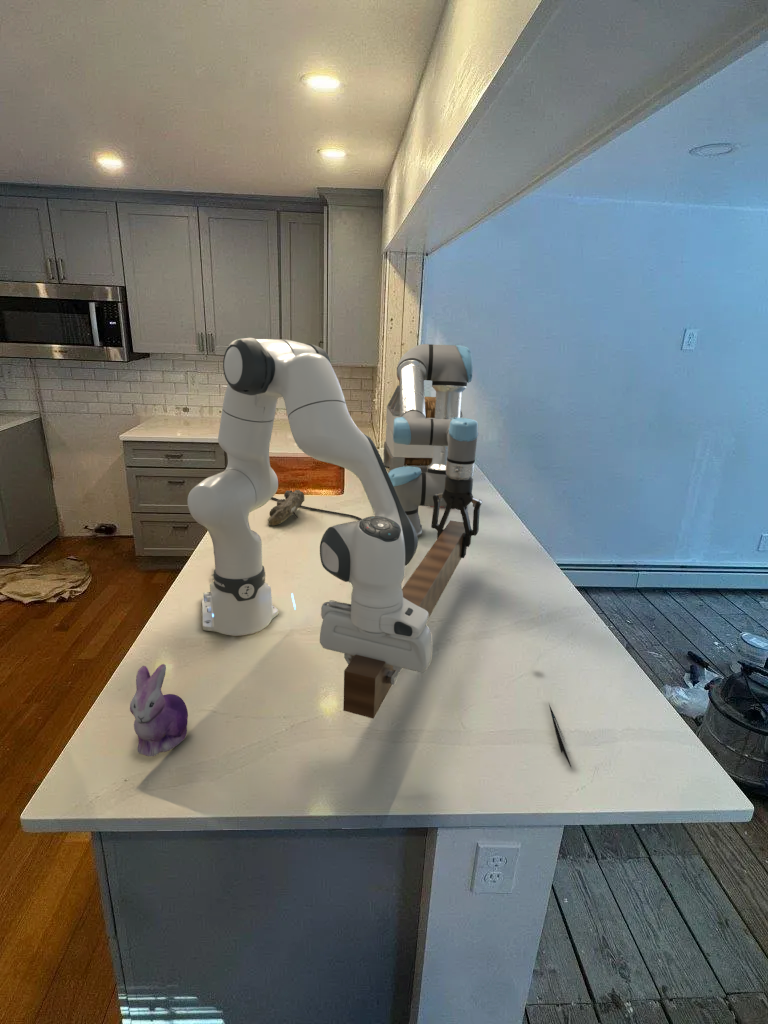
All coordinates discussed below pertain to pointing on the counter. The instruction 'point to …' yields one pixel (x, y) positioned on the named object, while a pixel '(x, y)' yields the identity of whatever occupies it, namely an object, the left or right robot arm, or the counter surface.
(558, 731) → the feather
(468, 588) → the counter surface
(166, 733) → the figurine
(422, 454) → the transformer
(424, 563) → the bar
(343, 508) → the counter surface
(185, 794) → the counter surface
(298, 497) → the fossil
